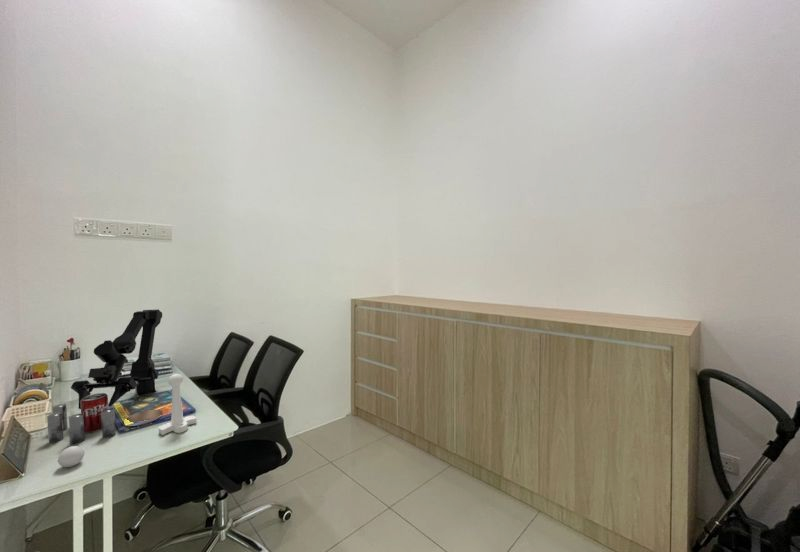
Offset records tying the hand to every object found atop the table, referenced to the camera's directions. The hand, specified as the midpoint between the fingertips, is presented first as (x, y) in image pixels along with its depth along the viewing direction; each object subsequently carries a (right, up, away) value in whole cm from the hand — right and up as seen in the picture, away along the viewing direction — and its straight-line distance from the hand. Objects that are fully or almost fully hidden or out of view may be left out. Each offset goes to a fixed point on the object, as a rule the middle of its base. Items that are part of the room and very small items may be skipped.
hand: (94, 407), depth 118 cm
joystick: (+32, -8, -1) cm, 33 cm away
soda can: (0, -8, 0) cm, 8 cm away
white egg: (+12, -9, -21) cm, 26 cm away
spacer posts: (-2, -8, -3) cm, 9 cm away
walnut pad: (+12, -7, +7) cm, 16 cm away
